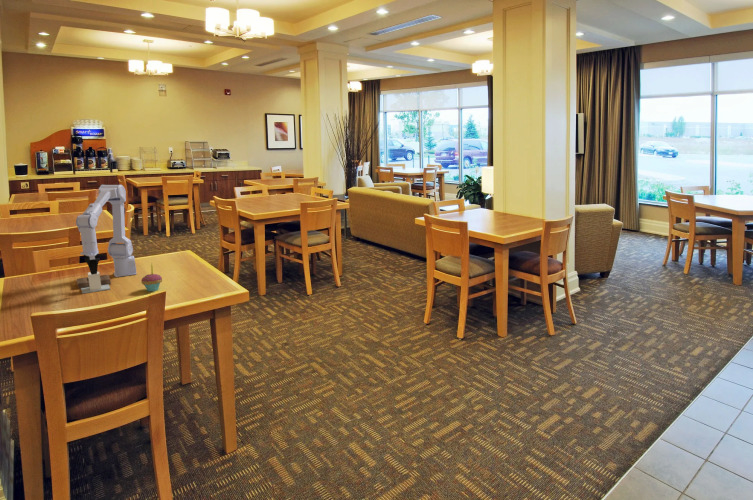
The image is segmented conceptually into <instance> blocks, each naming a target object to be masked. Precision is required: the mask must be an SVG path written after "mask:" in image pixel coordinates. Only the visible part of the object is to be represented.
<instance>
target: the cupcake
mask: <svg viewBox="0 0 753 500" xmlns="http://www.w3.org/2000/svg"><path fill="white" fill-rule="evenodd" d="M150 268H151V270H150V274H145V276H143V277H142V278H141V285H144V287H145V289H146V291H147V292H156V291H158V290H160V289H159V288H160V285H161V283H162V282H163V277H162V276H161V275H160V274H158V273H157V274H156V273H154V265H153V263H151V266H150Z"/></svg>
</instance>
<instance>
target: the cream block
mask: <svg viewBox="0 0 753 500" xmlns="http://www.w3.org/2000/svg"><path fill="white" fill-rule="evenodd" d="M100 276H101V274H100V271H98V270H97V274H91V272H90V271H89V272H87V277H88V279H89V286H90V290H97V289H102V288H101V281H100Z"/></svg>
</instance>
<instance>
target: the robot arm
mask: <svg viewBox="0 0 753 500" xmlns="http://www.w3.org/2000/svg"><path fill="white" fill-rule="evenodd" d="M107 202H108V203H110V204H111V211H112V231H113V233H112V234H113V235H112V238H111V239H110V240H109V241H108V246H107V253H108V255H109V256H110V257H111V259H112V260H113V268H114V272H113V275H114V277H115V278H119V277H127V276H132V275H133V276H134V275H137V273H138V272H137V266H136V260H135V256H134V255H132V254H133V253H134V248H133V243H132V240H131V239H130V238H128V237H126V225H125V224H126V222H125V218H126V217H125V202H127V192H126V188H125V186H124V185H123V184H100V186H99V187H98V194H97V197H96V199H95V200H94V202H93V203H92V202H91V203H89V205H88V207H87V208H86V209H85V210H84V211H83V212H82V214H79V215H78V216H77V217H76V219H75V225H76V227H77V228H78V232H79V233H80V238H81V245H82V251H81V252H80V256H81V255H82V256H83V257H84V262H86V264H87V265H88V266H87V267H88V269H89V273H90V272H91V274H97V271H98V265H99V262H100V261H101V260H100V257H98V255H99V248H98V242H97V234H96V227H97V225H98V221H99V217H100V215H101V214H102V212H103V207H104V206H105V205H106V203H107Z"/></svg>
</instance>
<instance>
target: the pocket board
mask: <svg viewBox="0 0 753 500" xmlns="http://www.w3.org/2000/svg"><path fill="white" fill-rule="evenodd" d="M100 281H101V285H107V284H109V286H110V285H112V282H111V278H110V275H109V274H102V275H101V274H100ZM76 284H77V287H78V290H81V288H87V287H90V286H89V279H88V276H87V277H80V278H76Z"/></svg>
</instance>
